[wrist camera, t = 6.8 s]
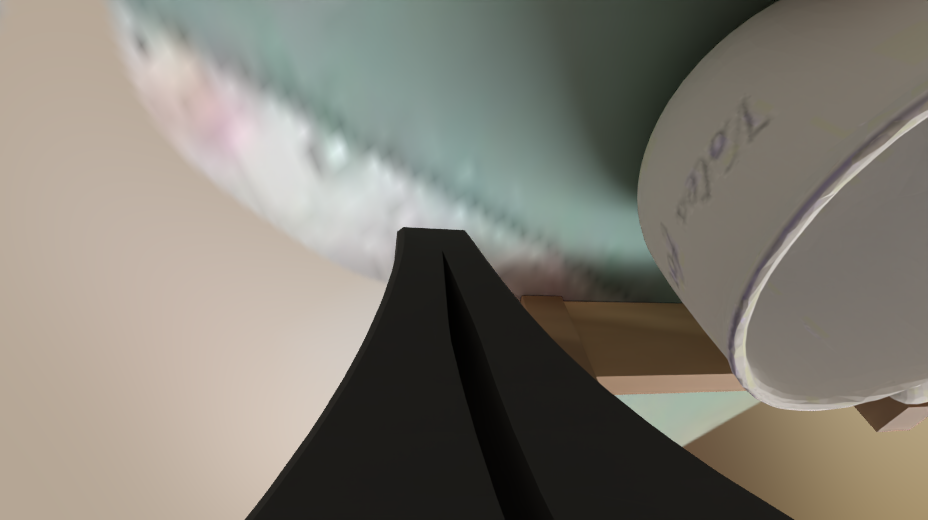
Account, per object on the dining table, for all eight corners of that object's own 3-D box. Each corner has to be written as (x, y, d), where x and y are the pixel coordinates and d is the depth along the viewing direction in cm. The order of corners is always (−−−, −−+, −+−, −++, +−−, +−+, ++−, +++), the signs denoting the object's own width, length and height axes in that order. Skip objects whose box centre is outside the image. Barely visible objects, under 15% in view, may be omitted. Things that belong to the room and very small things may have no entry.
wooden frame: (812, 325, 25) (909, 430, 20) (512, 324, 21) (550, 450, 17) (1189, -89, 14) (1582, -62, 9) (700, -237, 10) (959, -310, 6)
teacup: (575, 33, 14) (737, 174, 8) (976, -145, 12) (1566, -146, 6) (634, 321, 23) (730, 491, 17) (870, 238, 21) (1068, 389, 15)
